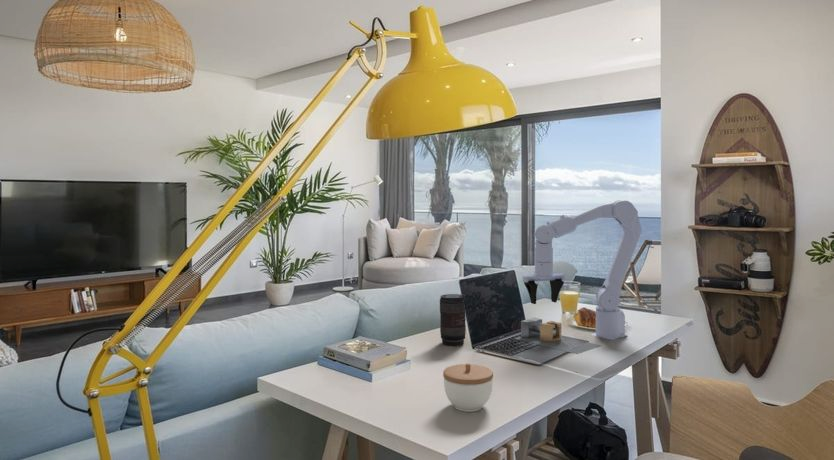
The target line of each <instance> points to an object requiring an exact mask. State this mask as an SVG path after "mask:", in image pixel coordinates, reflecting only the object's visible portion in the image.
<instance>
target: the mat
mask: <svg viewBox="0 0 834 460" xmlns="http://www.w3.org/2000/svg"><path fill="white" fill-rule="evenodd" d="M563 337H564V336H561V340H560V341H557V342H554V343H548V342H543V341H540V336H537V337H533V338H530V339H527V338H523V337H521V336H518V337H514V338H513V339H514V340H518V341H523V342H526V343H530V344H535V345H539V346H543V347H547V348H551V349H555V350H558V351H563V352H567V353H570V354H574V355H575V354H576V355H578V354H582V353H583V352H587V351H590V350H593V349H596V348H600V347H602V345H601V344H597V343H593V342H587V341H586V342H587V343H585V344H583V345H580V346H579V347H577V348H575V349H572V350H570V349H569V346H568V345H566V344H565V343H564V342H563V341H564V338H563Z"/></svg>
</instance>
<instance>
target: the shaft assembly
mask: <svg viewBox="0 0 834 460" xmlns="http://www.w3.org/2000/svg"><path fill="white" fill-rule="evenodd" d="M541 323H543V318H540V317H531V318H527V319H523V320H521V321H520V337H523V338H527V339H530V338H533V337H537V336H540V324H541ZM556 335H557V330H556V327H555V328H553V336H556Z"/></svg>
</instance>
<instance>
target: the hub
mask: <svg viewBox="0 0 834 460" xmlns="http://www.w3.org/2000/svg"><path fill="white" fill-rule="evenodd" d="M555 327H556V330H557V335H556V336H553V328H555ZM561 337H562V322H558V321H553V320H549V321H547V322H542V323H541V324H540V341H543V342H548V343H554V342H557V341H560V340H561Z"/></svg>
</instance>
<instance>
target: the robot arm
mask: <svg viewBox="0 0 834 460" xmlns="http://www.w3.org/2000/svg"><path fill="white" fill-rule="evenodd" d="M600 218H608V219H609V218H610V219H612V218H613V219H614V220H615V221H617V222H618V224H619V225H620V227H621V230H622V231H623V234H622V236H621V239H620V242H619V244H618V247H617V249H616V252H615V255H614V258H613V260H612V264H611V266H610V268H609V272H608V274H607V275H606V276H607V277H606V278H605V280H604V281H603V283H602V285H601V287H599V289H598V290H597V291H596V293H595V298H596V300H597V302H598V305H596V306H595V332H594V333H591V334H590V336H593V337H598V338H603V339H608V340H616V339H619V338H625V337H627V336H628V333H626V332H625V331H626V328H625V327H626V326H625V325H626V315H625V313H624V311H623V310H622V309H621V308H620V307H619V306H620V304H621V298H620V295H621V292H622V285H623V282H624V279H625V276H626V275H627V274H626V273H627V271H628V269H629V266H630V263H631V261H632V258H633V256H634V252H635V249H636V247H637V245H638V243H639V239H640V237H641V234H642V226H641V222H640V217H639V212H638V209H637V208H636V207H635V205H634V204H633V203H632V202H631V201H629V200H625V199H623V200H622V199H620V200H615V201H613V202H608V203H604V204H600V205H598V206H595V207H593V208H591V209H589V210H587V211H584V212H582V213H580V214H578V215H575V216H572V215H569V214H567V215H566V214H562V215H560V218H557V219H554V220H552V221H550V220H548V221H546V222H545V223H546V224H541V225H539V226H538V227H537V228H536V229H535V232H534V237H535V239H536V240H535V247H534V274H527V275H522V282H523V284H524V286H525V288H526V291H527V293H528V295H529V300H530V304H533V305H537V291H538V288H539V287H538V286H539V284H538V283H536V282H547V281H548V282H549V284H550V298H551V299H550V300H551V302H552V303H557V302H558V297H559V294H560V292H561V289H562V288H563V286H564V284H565V277H566V274H565V273H554V257H553V256H554V248H553V239H559V238H561V237H563V236H567V235H569V234H572V233H574V232H575V231H576V229H577V228H578V226H580V225H584V224H586V223H589V222H591V221H594V220H597V219H600Z"/></svg>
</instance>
